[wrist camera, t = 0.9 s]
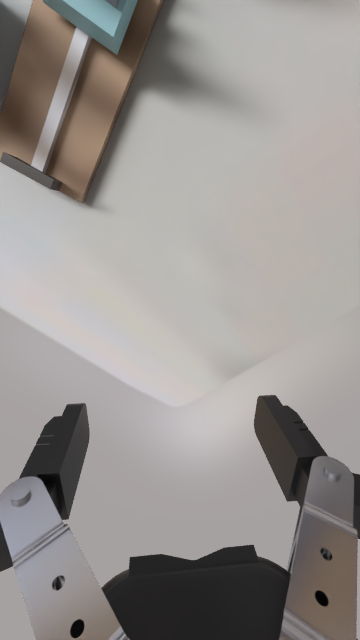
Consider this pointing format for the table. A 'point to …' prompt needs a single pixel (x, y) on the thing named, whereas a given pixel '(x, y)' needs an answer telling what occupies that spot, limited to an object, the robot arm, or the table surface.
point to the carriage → (98, 18)
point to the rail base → (67, 97)
